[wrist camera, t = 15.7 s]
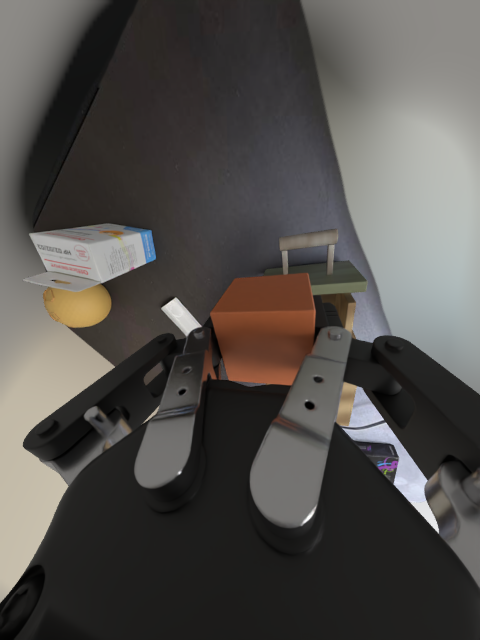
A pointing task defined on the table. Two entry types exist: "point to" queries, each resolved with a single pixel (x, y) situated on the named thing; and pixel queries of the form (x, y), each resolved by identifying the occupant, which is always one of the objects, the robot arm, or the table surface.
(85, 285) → the ink box
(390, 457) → the box
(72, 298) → the stress ball
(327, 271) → the drawer
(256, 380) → the block
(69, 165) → the table surface
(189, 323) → the white plastic blade
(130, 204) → the table surface
